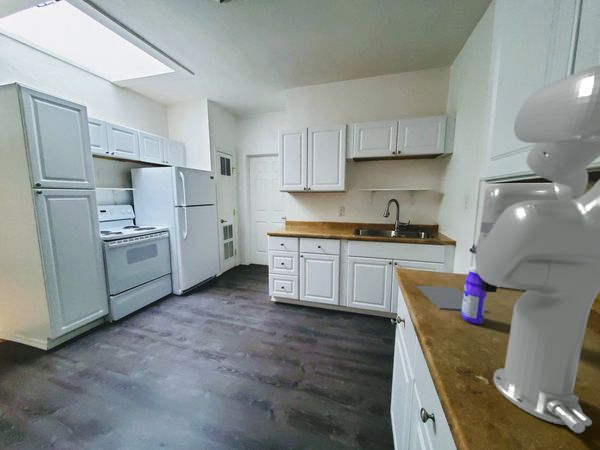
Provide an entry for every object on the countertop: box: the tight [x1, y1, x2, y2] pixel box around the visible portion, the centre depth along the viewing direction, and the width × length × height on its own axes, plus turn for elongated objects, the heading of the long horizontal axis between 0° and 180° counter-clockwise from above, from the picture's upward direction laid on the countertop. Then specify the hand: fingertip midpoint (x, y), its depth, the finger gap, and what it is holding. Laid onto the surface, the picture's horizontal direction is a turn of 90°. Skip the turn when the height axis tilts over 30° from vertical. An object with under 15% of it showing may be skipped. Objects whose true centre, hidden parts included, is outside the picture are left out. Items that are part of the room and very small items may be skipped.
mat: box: [416, 285, 489, 313], centre depth 92 cm, size 20×16×1 cm
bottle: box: [460, 265, 487, 325], centre depth 75 cm, size 7×6×17 cm
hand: (488, 290), depth 69 cm, fingers closed
